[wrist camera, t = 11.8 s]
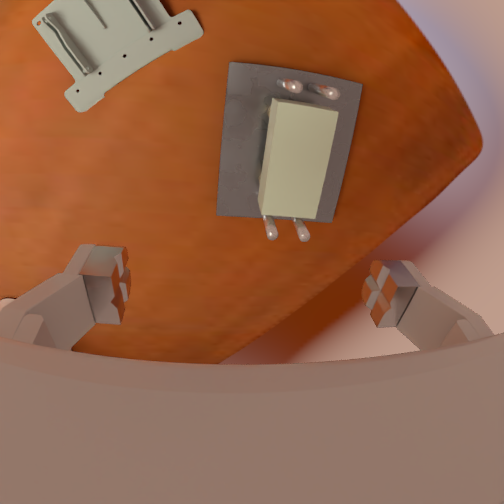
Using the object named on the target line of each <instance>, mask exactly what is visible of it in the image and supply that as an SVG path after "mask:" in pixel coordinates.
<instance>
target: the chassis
mask: <svg viewBox="0 0 504 504" xmlns="http://www.w3.org/2000/svg"><path fill="white" fill-rule="evenodd" d="M362 86H363V84H360V83H356V82H352V81H348V80H344V79H340V78H335V77H331V76H326V75H321V74H316V73H311V72H306V71H300V70H294V69H288V68H281V67H274V66H266V65H258V64H248V63H237V62H229V70H228V79H227V89H226V99H225V109H224V120H223V131H222V142H221V154H220V167H219V181H218V195H217V211H216V215H217V216H236V217H254V218H263V221H264V225H265V229H266V234H267V237H268V239H270V240H275V239H276V238H277V237H278V232H277V228H276V225H275V222H274V219H285V220H292V221H293V223H294V226H295V228H296V231H297V233H298V236H299V238H300V240H301V241H302V242H306V241H308V240H309V239H310V234H309V232H308V230H307V228H306V225H305V223H304V221H313V222H326V223H332V220H333V216H334V212H335V209H336V205H337V201H338V197H339V193H340V189H341V185H342V181H343V177H344V172H345V168H346V164H347V159H348V155H349V151H350V146H351V141H352V137H353V132H354V127H355V122H356V118H357V112H358V107H359V102H360V97H361V91H362ZM272 98H278V99H285V100H292V101H298V102H304V103H310V104H316V105H321V106H326V107H329V108H331V109H333V110H335V111H337V112H339V113H338V118H337V123H336V128H335V133H334V138H333V143H332V147H331V152H330V157H329V161H328V166H327V170H326V175H325V179H324V184H323V188H322V192H321V196H320V201H319V205H318V209H317V213H316V217H315V219H309V218H297V217H285V216H272V215H261V211H260V207H259V203H258V193H259V186H260V179H261V172H262V165H263V159H264V152H265V145H266V138H267V131H268V124H269V117H270V110H271V103H272Z"/></svg>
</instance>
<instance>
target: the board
mask: <svg viewBox="0 0 504 504" xmlns="http://www.w3.org/2000/svg"><path fill="white" fill-rule="evenodd" d="M338 113H339V112H337V111H335V110H333V109H331V108H329V107H326V106H321V105H316V104H310V103H304V102H298V101H292V100H285V99H278V98H272V103H271V110H270V117H269V124H268V131H267V138H266V145H265V152H264V159H263V165H262V172H261V179H260V186H259V193H258V203H259V207H260V211H261V215H272V216H285V217H297V218H309V219H315V217H316V213H317V209H318V205H319V201H320V196H321V192H322V188H323V184H324V179H325V175H326V170H327V166H328V161H329V157H330V152H331V147H332V143H333V138H334V133H335V128H336V123H337V118H338Z"/></svg>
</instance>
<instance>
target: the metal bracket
mask: <svg viewBox="0 0 504 504" xmlns="http://www.w3.org/2000/svg"><path fill="white" fill-rule="evenodd" d="M38 21H41V24H40V25H38V24H37V23H38ZM178 22H182V24H181V25H178ZM32 24H33V25H34V27H35V28H36V29H37V31H38V32H39V33H40V35H41V36H42V37H43V39H44V40H45V41H46V43H47V44H48V45H49V47H50V48H51V49H52V50H53V52H54V53H55V54H56V56H57V57H58V58H59V60H60V61H61V62H62V63H63V65H64V66H65V67H66V69H67V70H68V71H69V72H70V74H71V75H72V76H73V78H74V79H75V83H74V84H73V85H72V86H71V87H70V88H69V89H67V90H66V91H65V93H64V95H65V97H66V99H67V100H68V101H69V102H70V104H71V105H72V106H73V107H74V108H75V110H76V111H78V112H84V111H87V110H88V109H89V108H91V107H92V106H93V105H94V104H96V103H97V102H98V101H100V100H101V99H102V98H103V97H104V93H105V92H106V91H108V90H109V89H111V88H112V87H113V86H115V85H116V84H118V83H119V82H121V81H122V80H123V79H125V78H126V77H128V76H129V75H131V74H132V73H134V72H135V71H137V70H139V69H140V68H142V67H143V66H145V65H147V64H148V63H150V62H151V61H153V60H155V59H156V58H158V57H160V56H161V55H163V54H165V53H167V52H168V51H170V50H174V51H175V50H177V49H179V48H181V47H183V46H184V45H186V44H188V43H190V42H192V41H194V40H196V39H198V38H200V37H201V36H202V35H203V33H204V32H203V30H202V28H201V26H200V25H199V23H198V21H197V19H196V18H195V16H194V14H193V13H192V11H191V10H186V11H184V12H182V13H180V14H178V15H176V16H174V17H170V16H169V15H168V13H167V12H166V10H165V8H164V7H163V5H162V4H161V2H160V1H159V0H54V1H53V2H52V3H50V4H49V5H48V6H47V7H46V8H45V9H44V10H43V11H41V12H40V13H39V14H38V15H37V16H36V17H35V18H34V19H33V20H32ZM151 37H152V38H153V40H152V41H150V38H151ZM124 54H126V55H127V56H126V57H123V55H124ZM99 72H102V74H101V75H99ZM77 89H78V90H79V92H77Z"/></svg>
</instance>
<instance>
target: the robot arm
mask: <svg viewBox="0 0 504 504" xmlns="http://www.w3.org/2000/svg"><path fill="white" fill-rule="evenodd" d="M127 261H128V252H127V249H126V247H123V246H109V245H95V244H81V245H80V246H79V247H78V249H77V251H76V252H75V254H74V255H73V257H72V259H71V260H70V262H69V263H68V265H67V267H66V268H65V270H64V272H63V273H58V274H56V275H54V276H53V277H51V278H49V279H48V280H46V281H44V282H43V283H41V284H39V285H38V286H36V287H34V288H33V289H31V290H29V291H28V292H26V293H25V294H23V295H21V296H20V297H18V298H17V299H10V298H6V299H2V300H0V504H504V333H501V334H497V335H494V334H493V333H492V331H491V330H490V328H489V327H488V325H487V324H486V323H485V321H484V320H483V319H482V317H481V316H480V315H478V314H477V313H475V312H474V311H472V310H470V309H469V308H467V307H466V306H464V305H462V304H461V303H459V302H458V301H456V300H455V299H453V298H452V297H450V296H449V295H447V294H445V293H444V292H442V291H440V290H439V289H437V288H436V287H431V285H430V284H429V283H428V281H427V280H426V279H425V278H424V276H423V275H422V274H421V273H420V271H419V270H418V269H417V268H416V266H415V265H414V264H413V263H412V262H411V261H408V260H374V261H373V263H372V264H371V266H370V269H369V271H370V274H371V275H370V276H369V277H368V278H367V279H365V281H364V284H363V287H362V299H363V302H364V303H365V306H367V307H368V308H370V309H371V313H370V315H371V317H372V319H373V321H374V323H375V325H376V327H377V328H381V327H396V328H397V329H398V330H399V331H401V333H403V334H404V335H405V336H406V337H407V338H408V339H409V340H410V341H411V342H412V343H413V344H414V345H416V346H417V347H418V348H419V349H420V351H415V352H408V353H401V354H394V355H387V356H378V357H370V358H361V359H350V360H339V361H327V362H311V363H293V364H253V365H252V364H251V365H250V364H249V365H247V364H246V365H236V364H229V365H228V364H226V365H225V364H224V365H223V364H193V363H173V362H158V361H146V360H135V359H126V358H117V357H109V356H101V355H94V354H87V353H80V352H74V351H72V350H71V347H72V346H73V345H74V344H76V343H77V342H78V341H79V340H80V339H81V338H82V337H83V336H84V335H85V334H86V333H87V332H88V331H89V330H90V329H91V328H92V327H93V326H94V325H95V323H105V324H118V325H121V322H122V319H123V315H124V312H125V306H124V302H125V301H127V300H128V298H129V294H130V287H131V275H130V270H129V269H128V268H127V267H126V264H127Z"/></svg>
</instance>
